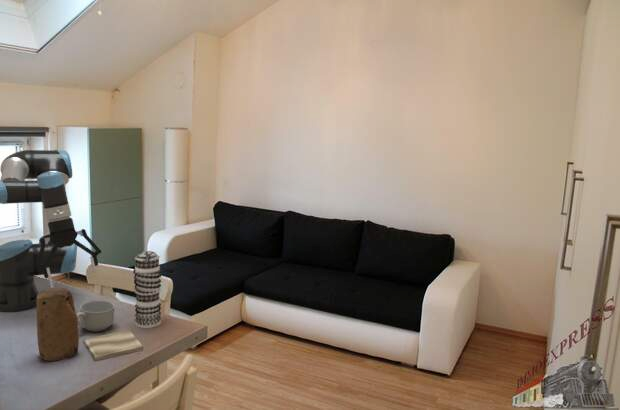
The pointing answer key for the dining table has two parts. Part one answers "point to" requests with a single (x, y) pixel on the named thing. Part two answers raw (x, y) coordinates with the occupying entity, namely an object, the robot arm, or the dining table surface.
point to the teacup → (96, 315)
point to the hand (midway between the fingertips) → (74, 281)
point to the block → (56, 324)
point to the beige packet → (112, 345)
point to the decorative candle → (147, 289)
